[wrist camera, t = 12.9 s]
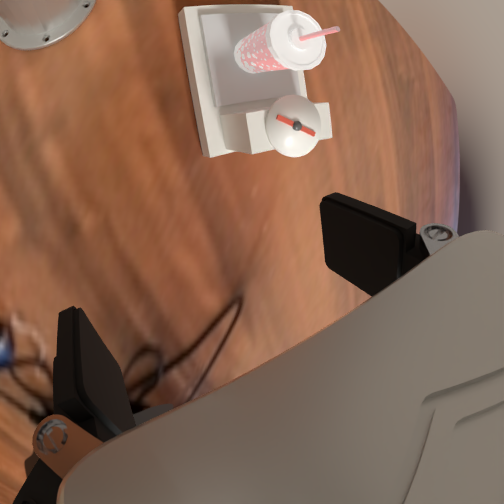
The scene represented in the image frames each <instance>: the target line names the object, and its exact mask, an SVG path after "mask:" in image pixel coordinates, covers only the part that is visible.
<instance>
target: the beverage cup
mask: <svg viewBox="0 0 504 504" xmlns="http://www.w3.org/2000/svg"><path fill="white" fill-rule="evenodd" d="M339 31H340V28H339V27H338V26H336V27H332V28H328V29H324V30H322V29H321V27H320V26H319V24H318V23H317V22H316V21H315V20H314V19H313V18H312V17H311V16H310V15H308V14H306V13H303V12H301V11H299V10H287V11H285V12H282V13H280V14H278V15H276V16H274V17H273V18H272V20H271V21H270V22H269V23H267V24H266V25H264V26H262V27H261V28H259V29H257V30H256V31H254V32H253V33H251V34H249V35H248V36H246V37H245V38H243V39H242V40H240V41H239V42H238V44H237V45H236V46H235V51H234V56H235V61H236V62H237V64H238V65H239V67H240V68H242V69H243V70H244V71H246V72H249V73H261V72H268V71H276V70H284V69H292V70H295V71H297V70H309V69H312V68H314V67H315V66H317V65H319V64H320V62H321V61H322V59H323V57H324V56H325V50H326V41H325V36H324V35H326V34H331V33H335V32H339Z"/></svg>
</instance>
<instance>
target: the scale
mask: <svg viewBox="0 0 504 504" xmlns="http://www.w3.org/2000/svg"><path fill="white" fill-rule="evenodd" d="M287 10H293V8H292V6H281V5H259V4H227V5H205V6H192V7H184V8H183V9H182V10H181V11H180V12H179V14H178V18H179V25H180V31H181V37H182V43H183V49H184V55H185V61H186V67H187V72H188V78H189V84H190V89H191V95H192V100H193V106H194V111H195V116H196V122H197V127H198V132H199V138H200V143H201V148H202V153H203V156H206V157H210V158H211V157H215V156H219V155H223V154H227V153H231V152H235V151H238V152H243V153H248V154H256V153H260V152H264V151H269V150H273V149H275V150H276V151H278V152H279V153H281V154H283V155H285V156H289V157H300V156H303V155H305V154H307V153H309V152H310V151H311V150H312V149H313V148H314V147H315V145H316V144H317V142H318V140H322V139H328V138H332V129H331V119H330V110H329V102H328V103H312V102H311V101H310V100H309V99H307V93H306V86H305V79H304V72H303V70H297V71H295V70H292V69H284V70H276V71H268V72H261V73H249V72H246V71H244V70H243V69H242V68H240V67H239V65H238V64H237V62H236V61H235V56H234V51H235V46H236V45H237V44H238V42H239V41H240V40H242V39H243V38H245V37H246V36H248V35H249V34H251V33H253V32H254V31H256V30H257V29H259V28H261V27H262V26H264V25H266V24H267V23H269V22H270V21H271V20H272V18H273V17H274V16H276V15H278V14H280V13H282V12H285V11H287Z"/></svg>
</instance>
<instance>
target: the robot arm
mask: <svg viewBox="0 0 504 504" xmlns="http://www.w3.org/2000/svg"><path fill="white" fill-rule="evenodd" d="M95 3H96V0H0V40H1V41H2V42H3V43H5V44H6V45H7V46H9V47H11V48H14V49H18V50H36V49H41V48H44V47H47V46H50V45H52V44H54V43H57V42H59V41H61V40H62V39H64V38H65V37H67V36H68V35H70V34H71V33H72V32H73V31H75V30H76V29H77V28H78V27H79V26H80V25H81V24H82V23H83V22H84V21H85V20H86V18H87V17H88V15H89V14H90V12H91V11H92V9H93V7H94V5H95ZM85 6H89V7H87V8H84V7H85ZM6 34H8V35H7V36H6V37H5V35H6ZM47 38H49V40H48V41H47V42H45V40H46V39H47ZM320 215H321V224H322V233H323V243H324V254H325V262H326V265H327V266H328V268H329V269H331V270H332V271H334V272H335V273H337V274H339V275H340V276H342V277H343V278H345V279H346V280H348V281H349V282H351V283H352V284H354V285H355V286H357V287H358V288H360V289H361V290H363V291H364V292H366V293H367V294H369V295H370V296H372V297H371V298H369V299H368V300H366V301H365V302H363V303H362V304H360V305H359V306H357V307H356V308H354V309H353V310H351V311H350V312H348V313H347V314H345V315H344V316H342V317H340V318H339V319H337V320H336V321H334V322H333V323H331V324H329V325H328V326H326V327H325V328H323V329H321V330H320V331H318V332H316V333H315V334H313V335H312V336H310V337H308V338H307V339H305V340H303V341H302V342H300V343H298V344H296V345H295V346H293V347H291V348H290V349H288V350H286V351H284V352H283V353H281V354H279V355H277V356H276V357H274V358H272V359H270V360H269V361H267V362H265V363H263V364H261V365H260V366H258V367H256V368H254V369H252V370H250V371H249V372H247V373H245V374H243V375H241V376H239V377H237V378H235V379H234V380H232V381H230V382H228V383H226V384H224V385H222V386H220V387H218V388H216V389H214V390H212V391H210V392H208V393H206V394H204V395H202V396H200V397H198V398H196V399H194V400H191V401H189V402H187V403H185V404H183V405H181V406H179V407H177V408H175V409H172V410H170V411H168V412H166V413H164V414H162V415H160V416H158V417H155V418H153V419H151V420H149V421H147V422H145V423H143V424H140V425H138V426H136V424H135V421H134V417H133V414H132V410H131V407H130V403H129V400H128V396H127V392H126V388H125V384H124V380H123V376H122V372H121V369H120V367H119V365H118V363H117V361H116V360H115V359H114V357H113V356H112V354H111V353H110V351H109V350H108V348H107V347H106V345H105V344H104V343H103V341H102V340H101V338H100V336H99V335H98V333H97V332H96V330H95V329H94V327H93V326H92V324H91V322H90V321H89V319H88V318H87V316H86V314H85V313H84V311H83V310H82V308H78V309H76V308H75V307H74V306H72V307H70V308H68V309H65V310H63V311H61V312H59V317H58V332H57V356H56V357H55V358H54V361H53V402H54V415H51V416H48V417H47V418H45V419H44V420H42V421H41V423H40V424H39V425H38V426H37V428H36V430H35V432H34V435H33V443H32V444H33V448H34V451H35V452H36V454H37V455H38V456H39V457H40V458H39V460H38V461H37V463H36V465H35V466H34V468H33V469H32V471H31V473H30V475H29V476H28V478H27V479H26V481H25V483H24V484H23V486H22V488H21V489H20V491H19V493H18V495H17V496H16V498H15V500H14V502H13V504H504V235H502V234H499V233H497V232H493V231H489V230H486V231H485V230H484V231H476V232H472V233H469V234H465V235H463V236H461V237H459V236H458V235H457V233H456V232H455V231H454V230H453V229H452V228H451V227H449V226H446V225H443V224H436V223H432V224H427V225H424V226H423V227H422V228H421V229H420V235H419V234H417V233H416V223H415V222H412V221H410V220H407V219H405V218H402V217H400V216H398V215H395V214H393V213H390V212H388V211H385V210H382V209H380V208H377V207H375V206H372V205H370V204H367V203H364V202H362V201H359V200H356V199H354V198H351V197H348V196H345V195H343V194H340V193H336V192H335V193H332V194H330V195H327V196H325V197H323V198H322V202H321V203H320Z"/></svg>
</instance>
